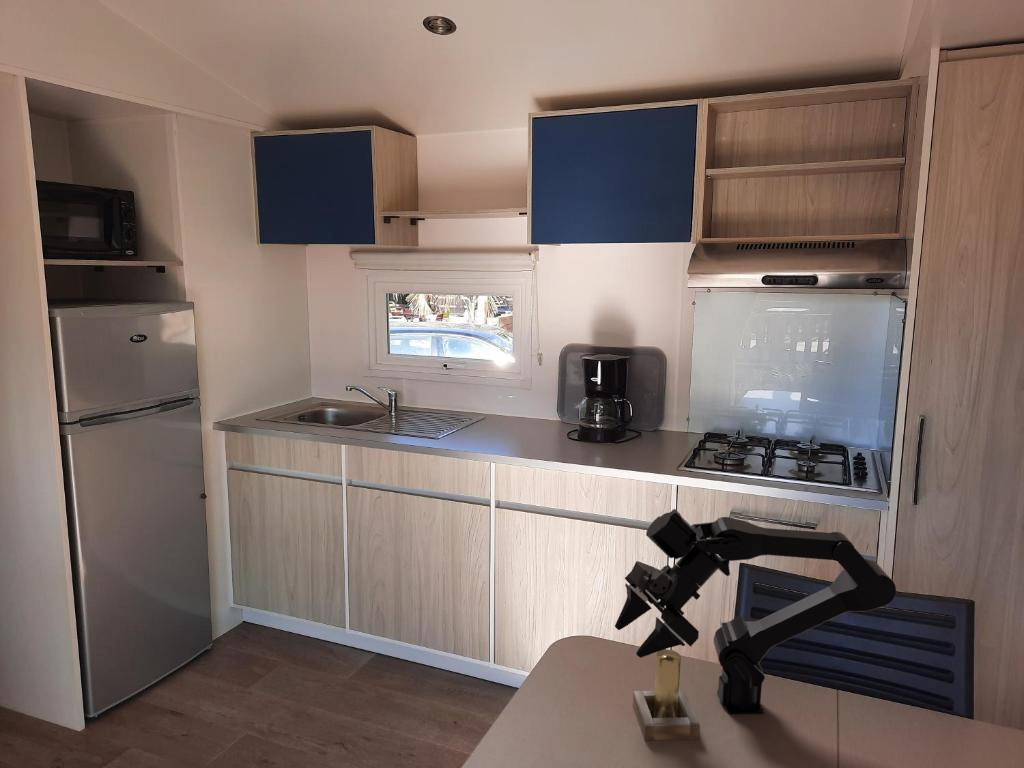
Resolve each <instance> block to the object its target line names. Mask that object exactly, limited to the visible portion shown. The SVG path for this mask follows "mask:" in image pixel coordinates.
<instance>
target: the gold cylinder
mask: <svg viewBox="0 0 1024 768" xmlns="http://www.w3.org/2000/svg"><path fill="white" fill-rule="evenodd" d="M681 660H682V656H681V654H680V653H679V652H677V651H675V650H673V649H670V648H667V649H664V650H661V651H658V652H656V661H655V681H654V682H655V684H654V691H655V698H654V711H653V718H678V716H679V714H678V698H679V690H680V675H681Z"/></svg>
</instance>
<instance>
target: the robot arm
mask: <svg viewBox="0 0 1024 768" xmlns="http://www.w3.org/2000/svg"><path fill="white" fill-rule="evenodd" d="M645 534H646V535H645V536H646V537H647V538H649V540H651V542H652V543H653V544H655V546H656V547H658V548H659V549H660V550H661V552H663V553H664V554H665V555H666V556H667V557H668V558H669V559H675V560H678V561H677V562H676V563H675V564H674V565H673V566H672V567H671V566H670V565H669V564H667V565H664V566H663V567H662V568H661V569H659V568H656V567H654V566H653V565H649V564H647V563H644V562H641V561H638V560H636V561H635V563H634V566H633V567H632V569H631V570H630V572H629V573H628V574H627V575H626V576H625V577H624V580H625V581H626V583H625V585H624V586H625V588H626V599H625V602H624V605H623V607H622V610H621V612H620V613H619V616H618V618H617V620H616V622H615V625H614V627H615V628H616V630H618V631H621V630H622V629H624V628H626V627H628V626H629V625H630V624H631V623H633V622H634V621H636V620H637V619H639V618H640V617H642V616H643V615H644V614H646V613H647V612H649V611H650V610H652V606H651V605H653V606H654V607H655V608H656V609H657V610H658V612H660V613H661V616H660V619H659V617H656V618H655V627H654V629H653V630H652V631H651V633H650V634H649V636H648V637H647V638H645V640H644V641H643V643H642V644H641V645H640V646H639V648H638V649H637V651H636V653H635V654H636V656H637V657H638V658H644V657H648V656H649V655H652V654H655V653H657V652H658V651H661V650H664V649H671V648H674V647H677V646H682V647H685V646H686V644H687V645H688V646H689V647H690V648H691V647H693V645H694V644H695V643H696V642H697V641H698V640H699V633H700V632H699V630H698V629H697V628H696V627H695V625H693V624H692V623H691V622H690V621H689V620H688V618H686V617H685V616H684V614H685V612H684V611H683V610H682V608H684V606H685V605H686V604H687V603H688V602H689V601H690V600H691V599H692V598H694V599H695V600H696V601H697V600H698V599H700V597H701V595H700V594H699V592H698V591H699V590H701V588H702V587H703V586H704V585H705V584H706V583H707V582H708V580H709V579H711V577H712V576H713V575H714V574H715V573H716V572H717V571H720V573H722V574H723V575H725V576H726V577H730V575H731V573H730V562H733V561H734V562H735V561H747V560H748V561H749V560H752V559H754V558H757V557H760V556H761V557H762V556H772V557H773V556H776V557H789V558H803V559H813V560H825V561H826V560H827V561H836V562H837V563H839V565H840V566H841V567H842V568H843V570H842V571H840V573H839V574H838V575H837V577H836V578H835V579H834V580H833V581H832V583H831V584H830V585H828V586H827V587H824V588H822V589H821V590H819V591H816V592H815V593H813V594H811V595H808V596H806V597H804V598H802V599H800V600H797V601H796V602H794V603H792V604H790V605H788V606H785V607H783V608H781V609H779V610H777V611H775V612H773V613H771V614H769V615H767V616H765V617H763V618H761V619H758V620H756V621H755V620H754V621H752V620H751V621H749V620H747V621H745V619H744V617H743V615H742V614H740V615H737V616H736V617H734V618H733V619H731V620H730V621H727V622H721V623H720V625H721V627H719V628H718V629H716V631H715V632H714V636H713V645H714V647H715V648H714V649H715V652H716V656H717V659H718V663H719V665H720V666H721V667H722V668H721V669H722V670H721V675H719V676H718V686H717V687H718V688H717V691H716V694H717V697H718V700H719V701H720V703H721V705H722V706H723V707H724V709H725V711H726V713H727V714H728V715H757V714H758V715H759V714H760V715H761V714H764V713H765V709H764V707H763V706H762V705H761V701H762V688H763V683H764V681H765V680H766V679H765V678H766V677H765V673H764V671H763V668H762V665H761V664H760V662H761V661H762V659H763V658H764V657H765V656H766V654H767V653H768V651H770V649H772V648H773V647H775V646H777V645H780V644H781V643H784V642H785V641H788V640H789V639H793V638H794V637H797V636H798V635H800V634H803V633H805V632H807V631H810V630H811V629H813V628H815V627H818V626H819V625H822V624H823V623H825V622H828V621H830V620H832V619H834V618H836V617H838V616H841V615H842V614H845V613H849V612H851V613H852V612H869V611H873V610H877V609H880V608H884V607H887V606H888V605H889V604H891V603H893V601H895V596H896V593H897V586H896V584H895V582H894V581H893V580H892V578H891V577H890V576H889V575H888V574H887V573H886V571H885V570H883V568H882V567H881V566H880V565H879V564H878V563H876V561H873V560H869V559H866V558H865V557H864V556H863V555H862V554H861V553H860V552H859V551H858V550H857V548H856V547H855V546H854V544H853V543H852V542H851V541H850V539H849V538H848V537H847V535H845V534H844V533H842V532H839V531H832V532H824V531H809V530H798V529H797V530H795V529H784V528H770V527H762V526H759V525H755V524H754V523H751V522H749V521H746V520H741V519H738V518H733V517H730V516H724V517H723V516H722V517H718V518H717V519H716V520H714V521H713V522H703V523H702V522H700V523H694V524H693V523H692V524H690V523H689V522H688V521H687V520H686V519H684V518H683V516H682V514H681V513H680V512H679V511H678V510H677V509H676V508H674V509H673V508H672V510H671V511H670V512H665V513H663V514H662V515H661V516H659V515H658V516H657V517H656V518H655V519H654V520H653V521H652V522H651V524H650V525H649V526H648V528H647V530H646V532H645ZM648 602H649V603H648ZM685 643H686V644H685Z"/></svg>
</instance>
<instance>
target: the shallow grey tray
mask: <svg viewBox="0 0 1024 768" xmlns="http://www.w3.org/2000/svg"><path fill="white" fill-rule="evenodd" d="M632 694H633V695H632V696H633V697H632V707H633V711H634V714H635V717H636V719H637V722H638V725H639V727H640V732H641V734H642V735H641V736H642V738H643V740H644V741H667V740H669V741H671V740H673V741H674V740H675V741H676V740H700V732H701V731H700V730H701V724H700V721H699V719H698V717H697V715H696V712H695V710H694V708H693V707H692V704H691V702H690V699H689V697H688V696H687V693H686V691H685V690H684V689H683V690H681V689H679V698H678V716H679V717H677V718H654V717H652V714H651V712H654V698H655V690H643V691H642V690H634V691H633V693H632Z"/></svg>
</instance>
